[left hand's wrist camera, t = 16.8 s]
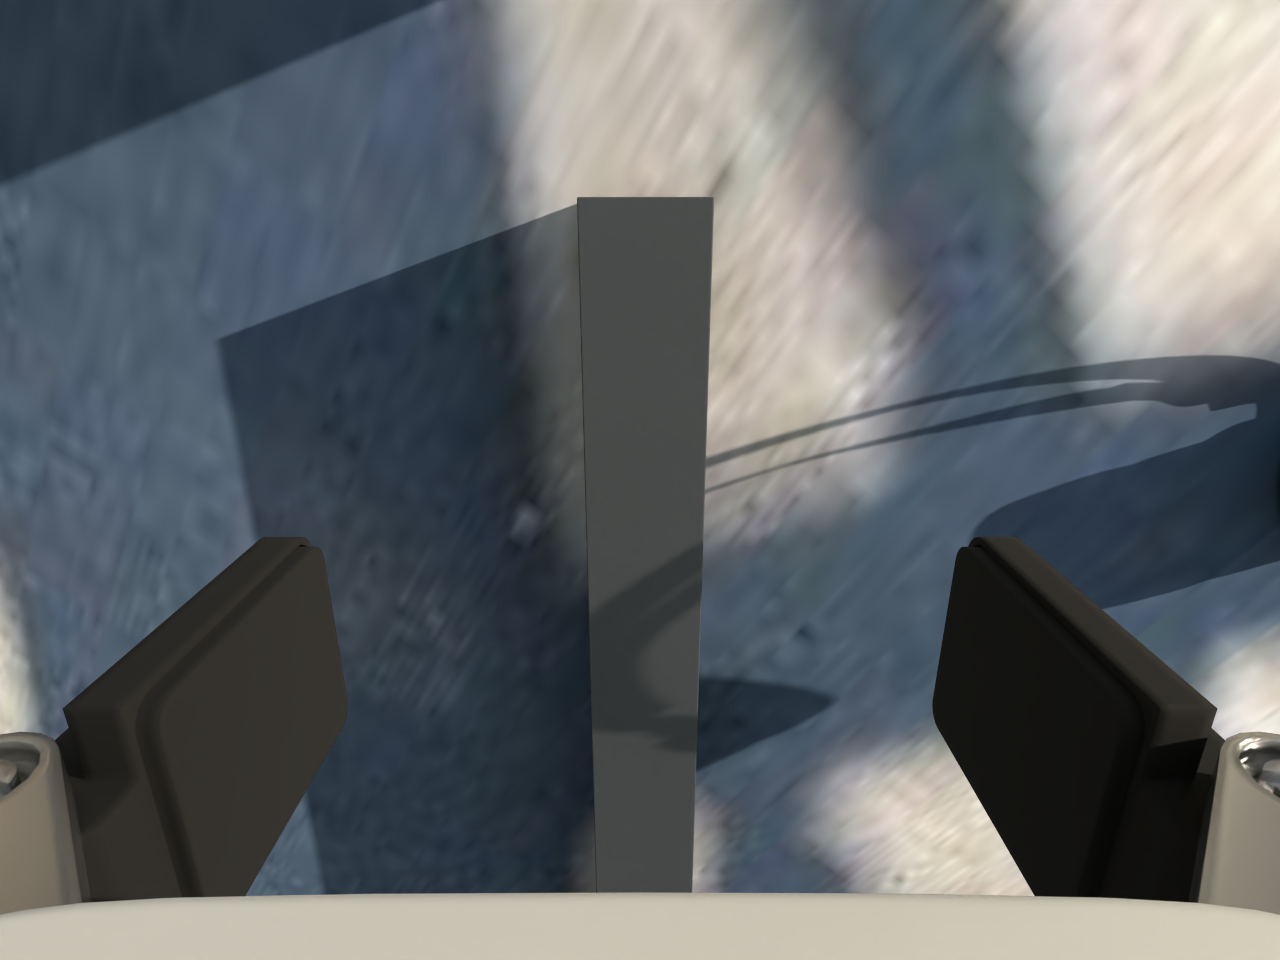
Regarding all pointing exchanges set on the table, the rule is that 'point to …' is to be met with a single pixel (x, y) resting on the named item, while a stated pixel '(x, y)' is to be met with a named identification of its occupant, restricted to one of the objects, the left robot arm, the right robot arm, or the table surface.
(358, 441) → the table surface
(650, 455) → the post
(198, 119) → the table surface
